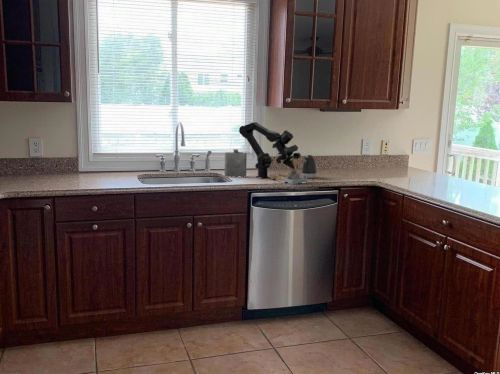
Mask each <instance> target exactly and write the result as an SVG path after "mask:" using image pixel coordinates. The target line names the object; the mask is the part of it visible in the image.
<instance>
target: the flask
mask: <svg viewBox="0 0 500 374" xmlns="http://www.w3.org/2000/svg"><path fill="white" fill-rule="evenodd" d="M225 176H246V177H247V152H243V151H239V149H236V148H235V149H233V151H231V152H230V151H229V152H228V151H227V152H226V151H225V152H224V177H225Z"/></svg>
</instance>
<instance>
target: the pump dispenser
mask: <svg viewBox="0 0 500 374" xmlns="http://www.w3.org/2000/svg"><path fill="white" fill-rule="evenodd" d="M303 158H304V159H303V162H302V165H301V175H302V178H304V177H307V178H306V179H314V178H316V176H317V173H318V167H317V162H316V160H315V157H314V156H313V155H312V154H308V155H306V156H303ZM313 177H314V178H313Z"/></svg>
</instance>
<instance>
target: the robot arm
mask: <svg viewBox="0 0 500 374" xmlns="http://www.w3.org/2000/svg"><path fill="white" fill-rule="evenodd" d="M254 131H256V132H258V133H259V134H261V135H262V136H264V137H265V138H266V139H267V140H268V141H269V142H270V143H272V146H271V147H272V149H276V150H277V151H278V157H276V159H275V161H276V163H277V164H281V163H282V164H283V165H285V166H287V167H289V168H291V170H292V169H295V167H294V165H293V164H292V159H293V158H295V159H297V160H299V158H300V157H301V156H302V154H301V153H300V152H297V151H298V150H299V147H298V146H297V144H294V145H291V146H287V145H288V144H289V143H290V142H291V140H292V139H294V135H293V133H291V132H290V131H288V130H284V131H283V132H282V134H280V132H277V131H274V130H270V129H268V128H266V127H264V126H263V125H261V124H260V123H259V122H257V121H256V122H255V121H254V122H253V121H252V122H250V123H248V124H246V125H241V126H239V130H238V132H239V134H240V135H241V136H242V137H243V138H245V139H246V140H247V142H248V144H249V146H250V147H251V148H252V150H253V152H254V153H255V156H256V161H257V162H256V163H255V164H254V168H255V169H257V175H256V176H255V177H256V178H258V177H269V176H268V171H269V170H268V169H269V168H270V167H271V165H272V157H271V156H270V154H269V153H268V152H266V153H265V152H264V151H263V149H262V147H261V146H260V145H259V142H258V141H257V139H256V138H255V136H254ZM282 161H283V162H282ZM298 165H299V164H297V169H299V167H298Z"/></svg>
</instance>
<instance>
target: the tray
mask: <svg viewBox="0 0 500 374" xmlns="http://www.w3.org/2000/svg"><path fill="white" fill-rule="evenodd" d="M281 181H285V182H289V183H291V184H290V185H299V184H298V183H302V182H306V183H307V178H304V177H299V179H298V180H291V179H288V177H284V178H281ZM281 181H280V182H281ZM302 184H303V183H302Z"/></svg>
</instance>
